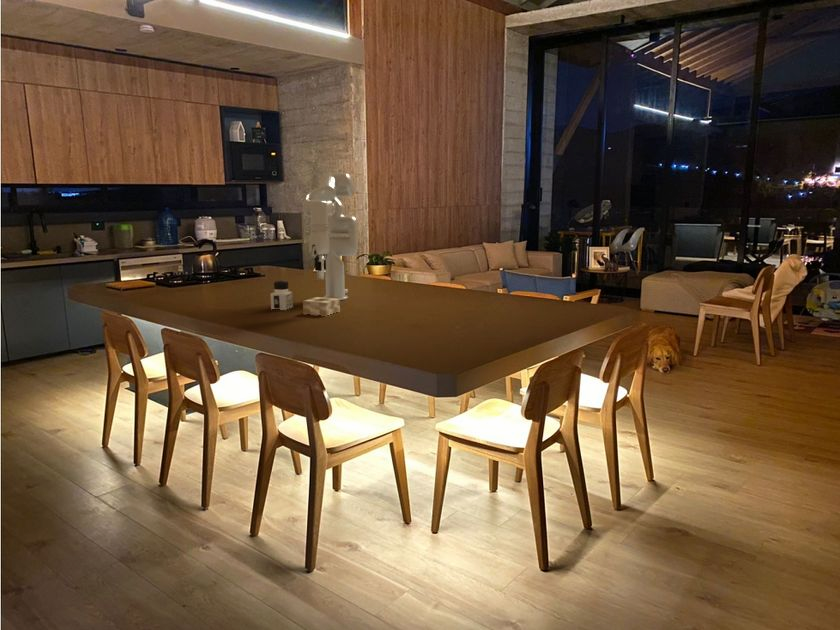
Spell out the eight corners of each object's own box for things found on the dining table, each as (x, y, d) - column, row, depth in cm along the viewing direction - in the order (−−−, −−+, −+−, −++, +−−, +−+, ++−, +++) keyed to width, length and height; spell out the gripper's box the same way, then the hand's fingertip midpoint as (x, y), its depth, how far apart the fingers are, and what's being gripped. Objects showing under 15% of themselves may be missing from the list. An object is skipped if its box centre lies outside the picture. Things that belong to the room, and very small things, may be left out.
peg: (319, 278, 287) (319, 252, 285) (325, 278, 286) (324, 252, 283) (316, 279, 284) (315, 252, 282) (321, 279, 283) (321, 252, 281)
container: (286, 310, 294) (285, 282, 292) (270, 309, 296) (269, 282, 293) (293, 307, 302) (292, 280, 299) (277, 306, 303) (276, 279, 301)
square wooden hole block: (317, 309, 296) (317, 297, 295) (340, 311, 291) (339, 298, 290) (303, 314, 285) (302, 301, 284) (326, 316, 280) (326, 302, 279)
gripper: (321, 227, 290) (322, 268, 293) (301, 229, 275) (303, 271, 278) (336, 228, 287) (337, 268, 290) (316, 229, 272) (317, 272, 275)
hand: (320, 269), depth 284 cm, fingers closed on peg, 3 cm apart
